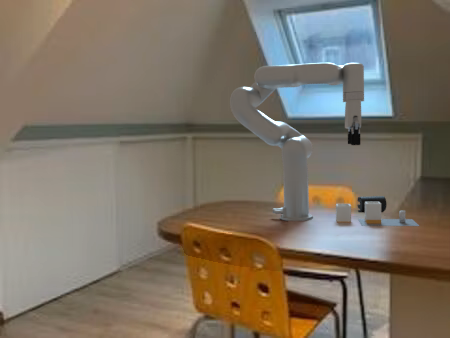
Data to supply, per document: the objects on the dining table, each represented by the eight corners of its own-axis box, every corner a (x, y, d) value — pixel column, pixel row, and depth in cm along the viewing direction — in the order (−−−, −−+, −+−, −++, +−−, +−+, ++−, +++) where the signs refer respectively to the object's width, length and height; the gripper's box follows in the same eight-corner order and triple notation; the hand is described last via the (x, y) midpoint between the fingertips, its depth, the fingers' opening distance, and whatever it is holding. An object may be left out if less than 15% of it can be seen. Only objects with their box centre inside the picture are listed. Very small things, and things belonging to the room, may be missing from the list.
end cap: (362, 214, 204) (362, 197, 203) (356, 211, 211) (356, 195, 210) (386, 213, 204) (386, 197, 204) (380, 210, 211) (380, 194, 211)
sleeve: (336, 225, 182) (336, 206, 181) (336, 222, 187) (335, 203, 186) (351, 225, 181) (351, 206, 180) (350, 222, 186) (349, 203, 185)
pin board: (361, 229, 175) (361, 214, 175) (358, 223, 187) (358, 208, 186) (419, 230, 172) (419, 214, 172) (412, 223, 184) (412, 208, 183)
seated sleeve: (366, 223, 178) (366, 203, 177) (364, 220, 183) (364, 201, 182) (381, 223, 177) (381, 203, 177) (379, 220, 182) (379, 201, 182)
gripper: (340, 99, 195) (341, 143, 196) (345, 96, 178) (346, 145, 179) (360, 98, 194) (360, 143, 195) (367, 96, 177) (368, 145, 178)
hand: (353, 144), depth 187 cm, fingers open, 9 cm apart
